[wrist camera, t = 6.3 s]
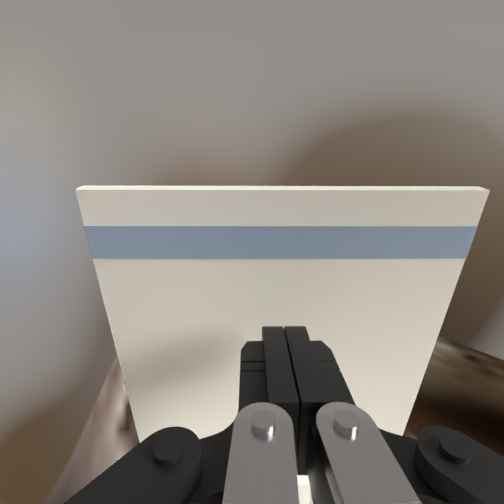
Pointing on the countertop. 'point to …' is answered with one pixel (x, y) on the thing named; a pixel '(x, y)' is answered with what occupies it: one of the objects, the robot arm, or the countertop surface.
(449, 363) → the countertop surface
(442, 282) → the flap
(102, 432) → the countertop surface
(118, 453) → the countertop surface
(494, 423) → the countertop surface
